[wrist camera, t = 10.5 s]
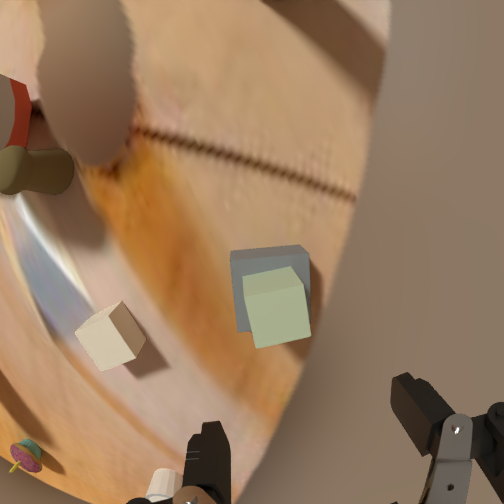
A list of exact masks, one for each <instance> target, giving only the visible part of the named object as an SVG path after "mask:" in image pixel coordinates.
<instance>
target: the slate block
mask: <svg viewBox="0 0 504 504" xmlns="http://www.w3.org/2000/svg"><path fill="white" fill-rule="evenodd" d="M230 265H231V275H232V284H233V294H234V303H235V312H236V321H237V330H238V332H247V331H252V330H251V326H250V321H249V317H248V313H247V308H246V304H245V300H244V291H243V278H242V276H247V275H252V274H257V273H261V272H266V271H271V270H275V269H280V268H285V267H289V266H291V267H292V269H293V270H294V272H295V273H296V274H297V276H298V277H299V279H300V280H301V282H302V283H303V285H304V291H305V297H306V304H307V310H308V317H309V324H311V304H310V264H309V253H308V252H307V251H306V250H305V249H304V248H303V247H302V246H300V245H289V246H278V247H267V248H256V249H245V250H234V251H231V253H230Z"/></svg>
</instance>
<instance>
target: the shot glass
mask: <svg viewBox="0 0 504 504" xmlns="http://www.w3.org/2000/svg"><path fill="white" fill-rule="evenodd" d="M182 482H183V477H182V475H181V474H180V473H178V472H176V471H174V470H171V469H165V468H162V469H157V470H156V471H155V472H154V475H153V477H152V480H151V483H150V485H149V488H148V491H147V494H146V496H145V498H146V499H148V500H150V501H151V502H157V501H161V500H165V499H168V498H171V497H173V496H174V494H175V493H176V492H177V491H178V490H179V489H181V487H182Z"/></svg>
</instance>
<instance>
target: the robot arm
mask: <svg viewBox="0 0 504 504" xmlns="http://www.w3.org/2000/svg"><path fill="white" fill-rule="evenodd" d="M391 407H392V410H393V412H394V413H395V415H396V416H397V418H398V420H399V421H400V423H401V424H402V426H403V427H404V429H405V430H406V432H407V433H408V435H409V437H410V438H411V440H412V441H413V443H414V444H415V446H416V448H417V449H418V451H419V452H420V454H421V455H422V457H423V456H425V455H427V454H429V453H430V454H431V455H432V460H431V464H430V468H429V472H428V475H427V479H426V483H425V487H424V489H423V492H422V495H421V498H420V500H419V503H418V504H465V503H466V498H467V493H468V488H469V482H470V476H471V469H472V461H471V459H474V458H475V460H476V462H477V463H478V465H479V466H480V468H481V469H482V471H483V472H484V474H485V476H486V477H487V479H488V480H489V481H490V483H491V485H492V487H493V488H494V490H495V491H496V493H497V495H498V497H499V498H500V500H501V502H502V503H503V504H504V402H498V403H495V404H493V405H492V406H491V407H490V408H489V410H488V412H487V414H484V415H480V416H476V417H472V418H470V417H468V416H467V415H465V414H456V413H455V412H454V411H453V410H452V408H451V407H450V406H449V405H448V404H447V403H446V402H445V400H444V399H443V398H442V397H441V396H440V395H439V394H438V393H437V391H436V390H434V388H433V387H432V386H431V385H430V384H429V382H427V381H425V380H422V379H421V378H418V379H416V380H415V379H414V378H413V377H412V376H411V375H410V374H409V373H408V372H406V373H404V374H401V375H399V376H396V377H393V379H392V386H391ZM126 504H231V450H230V445H229V441H228V439H227V437H226V434H225V432H224V430H223V427H222V425H221V423H220V421H213V422H204V423H203V424H202V431H201V434H194V435H193V436H192V438H191V439H190V441H189V442H188V447H187V453H186V460H185V467H184V474H183V482H182V487H181V489H179V490H178V491H177V492H176V493H175V494H174V496H173V497H171V498H168V499H165V500H161V501H157V502H151V501H150V500H148V499H146V498H134V499H132V500H130V501H128V502H127V503H126ZM392 504H398V503H397V502H394V503H392Z"/></svg>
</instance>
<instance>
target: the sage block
mask: <svg viewBox="0 0 504 504" xmlns="http://www.w3.org/2000/svg"><path fill="white" fill-rule="evenodd" d="M242 278H243V291H244V300H245V304H246V308H247V313H248V317H249V321H250V326H251V330H252V334H253V338H254V343H255V347H256V349H257V348H262V347H267V346H271V345H276V344H281V343H285V342H289V341H294V340H298V339H302V338H306V337H311V331H310V324H309V317H308V310H307V304H306V297H305V291H304V285H303V283H302V282H301V280H300V279H299V277H298V276H297V274H296V273H295V272H294V270H293V269H292V267H291V266H289V267H285V268H280V269H275V270H271V271H266V272H261V273H257V274H252V275H247V276H242Z"/></svg>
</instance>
